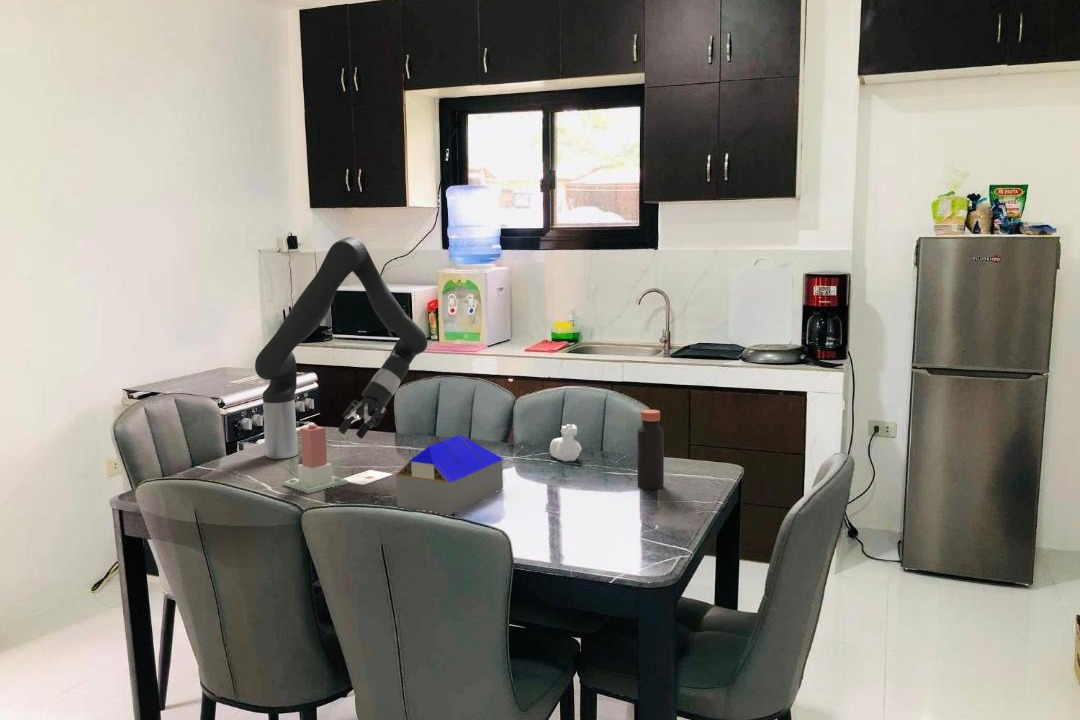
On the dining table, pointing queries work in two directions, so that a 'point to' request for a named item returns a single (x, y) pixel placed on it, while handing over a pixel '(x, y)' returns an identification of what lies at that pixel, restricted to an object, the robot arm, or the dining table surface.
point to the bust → (566, 444)
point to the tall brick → (313, 446)
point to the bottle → (650, 451)
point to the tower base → (314, 487)
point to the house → (449, 476)
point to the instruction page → (367, 477)
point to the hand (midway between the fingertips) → (349, 434)
